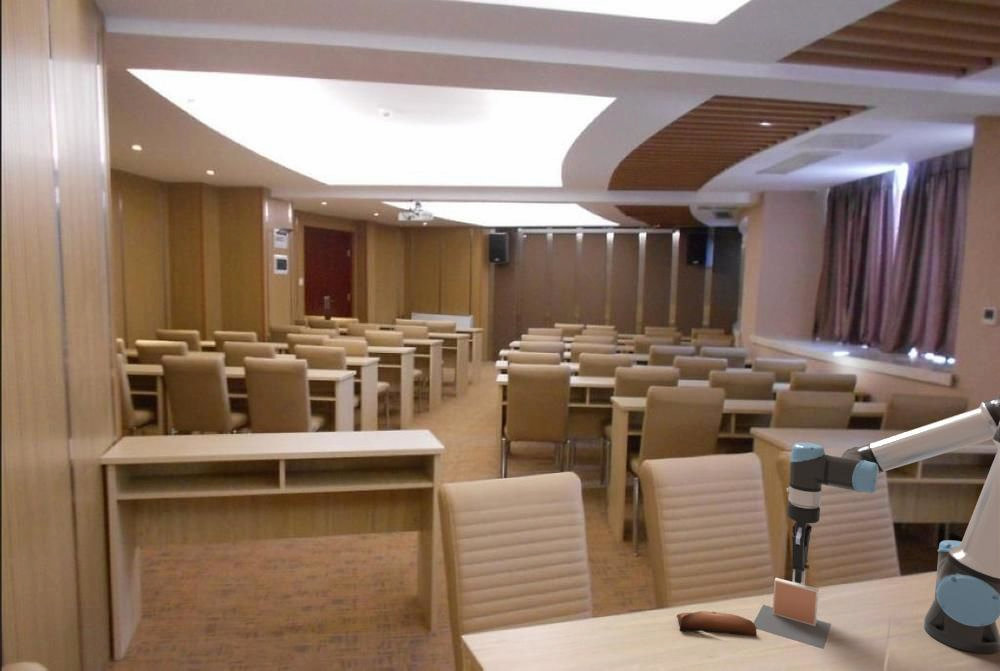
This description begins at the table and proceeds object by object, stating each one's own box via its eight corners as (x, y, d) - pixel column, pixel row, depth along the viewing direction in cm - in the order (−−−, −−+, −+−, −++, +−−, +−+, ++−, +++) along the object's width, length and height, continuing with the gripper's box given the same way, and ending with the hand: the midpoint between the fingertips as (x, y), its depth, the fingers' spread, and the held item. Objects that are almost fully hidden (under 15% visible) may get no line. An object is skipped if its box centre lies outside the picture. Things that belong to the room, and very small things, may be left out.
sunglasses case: (747, 620, 161) (752, 604, 157) (753, 647, 155) (758, 631, 151) (674, 614, 163) (677, 598, 159) (677, 640, 157) (680, 625, 153)
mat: (830, 626, 160) (830, 623, 160) (823, 651, 148) (823, 648, 148) (763, 606, 168) (763, 604, 168) (751, 629, 157) (751, 626, 157)
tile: (816, 623, 159) (818, 588, 159) (815, 626, 158) (817, 591, 157) (773, 611, 165) (775, 577, 164) (772, 614, 163) (774, 580, 163)
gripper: (792, 494, 171) (787, 580, 172) (783, 507, 160) (777, 598, 162) (823, 500, 167) (817, 588, 168) (816, 514, 156) (809, 607, 158)
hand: (797, 593), depth 165 cm, fingers closed
